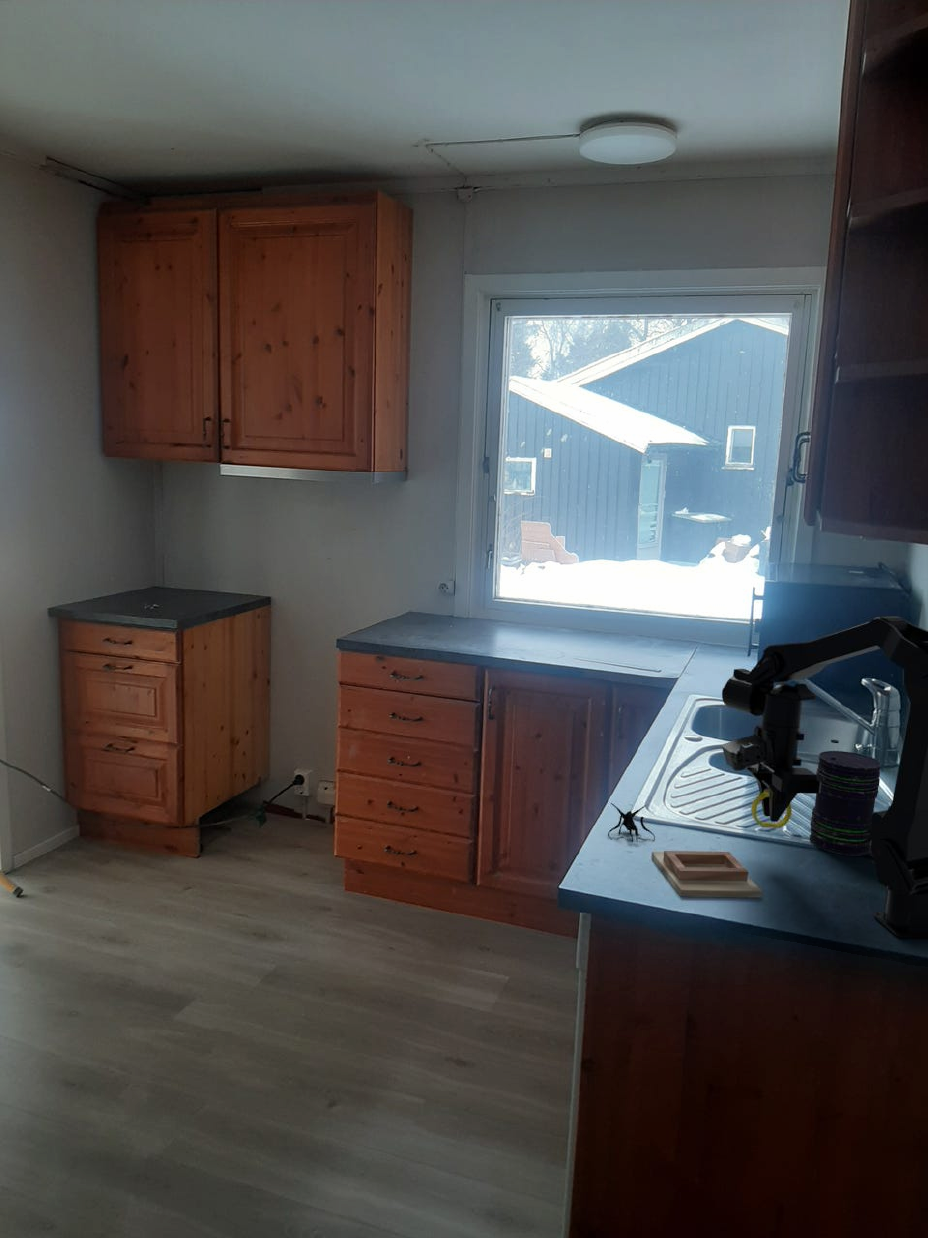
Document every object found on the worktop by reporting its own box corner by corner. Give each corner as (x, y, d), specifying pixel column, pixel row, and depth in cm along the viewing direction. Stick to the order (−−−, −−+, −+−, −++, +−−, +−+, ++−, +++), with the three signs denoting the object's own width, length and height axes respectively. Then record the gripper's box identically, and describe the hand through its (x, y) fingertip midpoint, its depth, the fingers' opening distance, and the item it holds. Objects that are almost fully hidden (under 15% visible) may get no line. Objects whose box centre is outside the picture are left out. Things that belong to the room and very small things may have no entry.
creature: (657, 852, 153) (648, 825, 161) (661, 824, 151) (652, 798, 159) (609, 850, 153) (602, 823, 161) (613, 822, 151) (606, 795, 159)
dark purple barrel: (855, 835, 163) (868, 735, 161) (881, 857, 154) (895, 751, 151) (799, 832, 163) (810, 732, 161) (822, 854, 153) (834, 748, 151)
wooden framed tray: (760, 897, 135) (762, 881, 135) (680, 896, 134) (682, 880, 134) (724, 858, 149) (726, 844, 149) (651, 857, 148) (652, 842, 147)
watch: (754, 830, 148) (755, 793, 147) (749, 824, 151) (750, 788, 150) (792, 829, 148) (793, 793, 147) (786, 823, 150) (788, 787, 150)
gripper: (709, 707, 155) (701, 798, 157) (755, 737, 137) (745, 840, 139) (774, 709, 156) (764, 799, 158) (828, 739, 138) (816, 841, 140)
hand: (770, 818), depth 149 cm, fingers closed on watch, 2 cm apart
